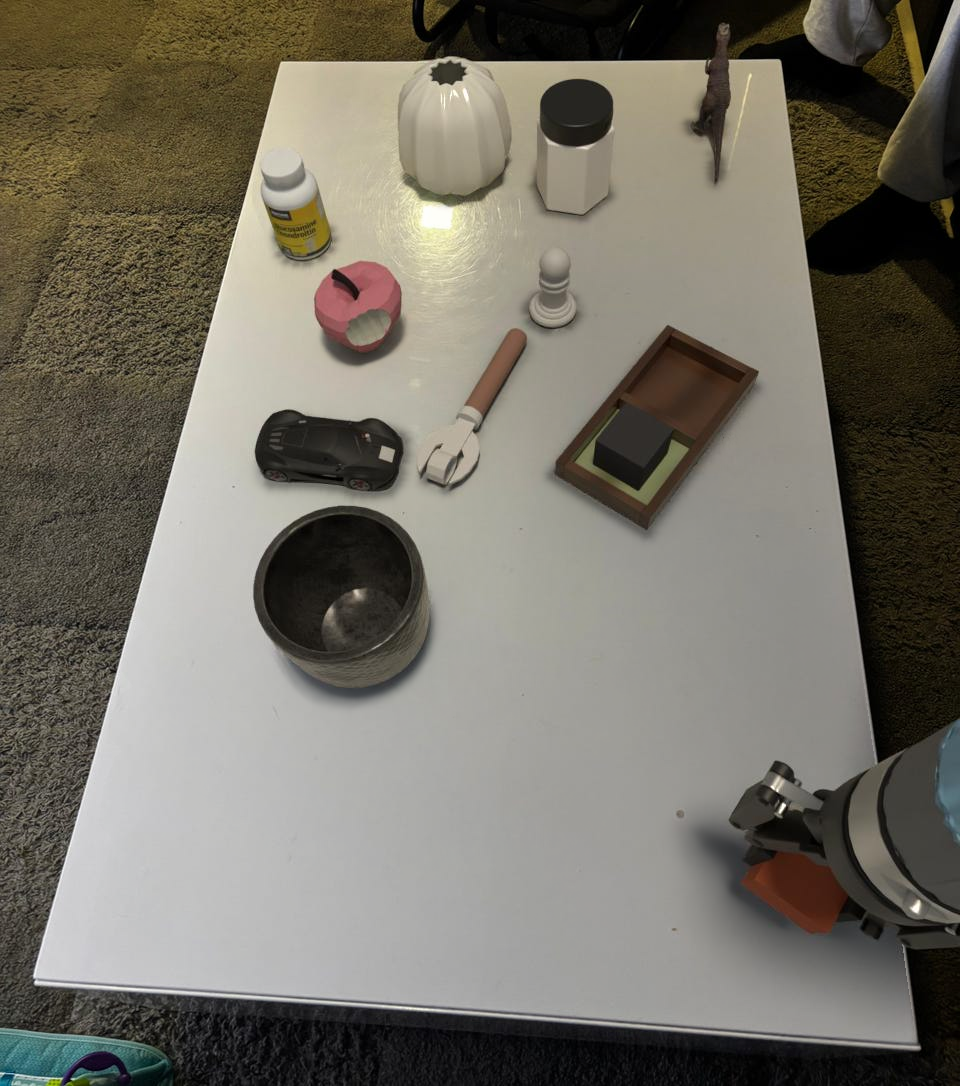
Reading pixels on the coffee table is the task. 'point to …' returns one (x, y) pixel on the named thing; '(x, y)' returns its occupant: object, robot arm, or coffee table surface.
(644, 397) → the frame
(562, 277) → the chess piece
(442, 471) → the pizza cutter
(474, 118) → the vase
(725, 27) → the dinosaur model
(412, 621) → the planter
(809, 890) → the orange block
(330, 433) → the toy car
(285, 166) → the pill bottle
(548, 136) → the jar
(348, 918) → the coffee table surface
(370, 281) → the apple
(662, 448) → the black cube
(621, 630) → the coffee table surface
